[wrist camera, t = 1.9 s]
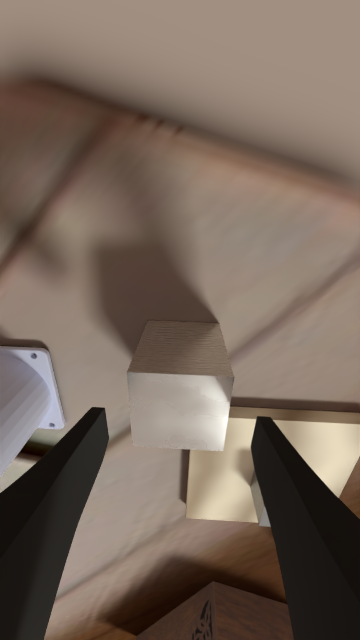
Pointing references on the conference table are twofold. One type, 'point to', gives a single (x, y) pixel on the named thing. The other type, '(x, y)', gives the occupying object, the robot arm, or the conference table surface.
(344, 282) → the conference table surface
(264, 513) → the post
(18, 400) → the robot arm
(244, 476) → the board
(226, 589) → the tissue box cover
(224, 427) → the brushed grey cube
